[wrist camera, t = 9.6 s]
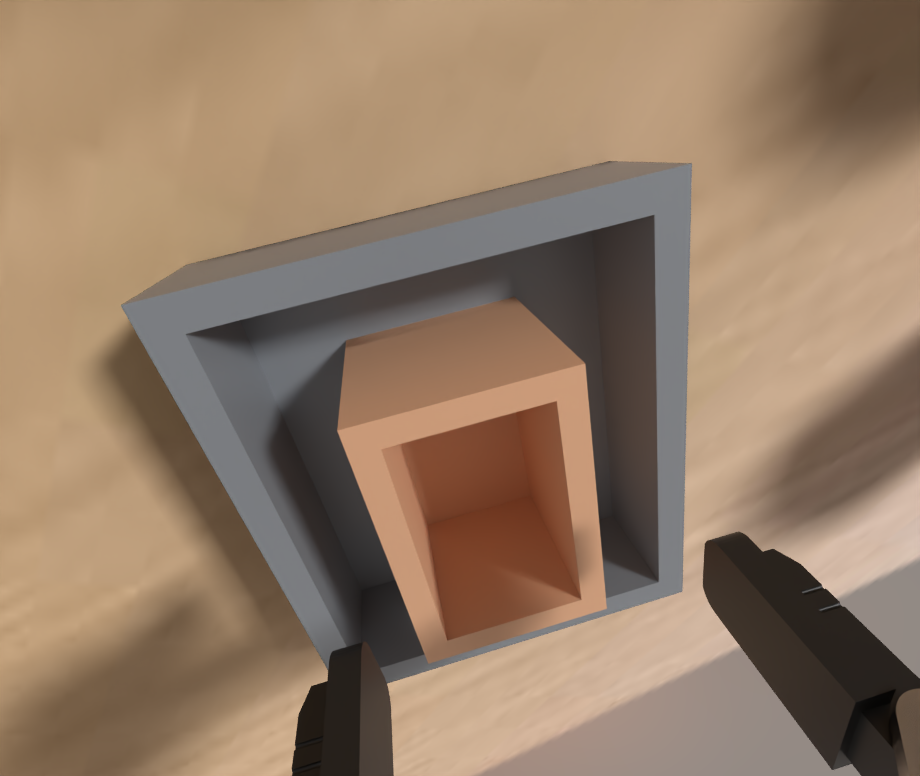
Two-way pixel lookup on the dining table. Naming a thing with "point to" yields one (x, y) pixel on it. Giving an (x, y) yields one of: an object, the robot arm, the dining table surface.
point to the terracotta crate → (477, 473)
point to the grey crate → (416, 299)
